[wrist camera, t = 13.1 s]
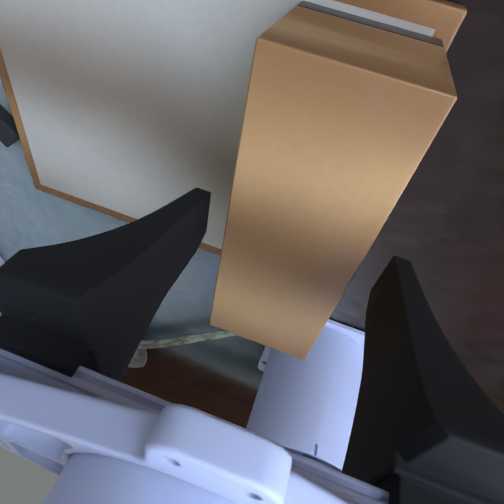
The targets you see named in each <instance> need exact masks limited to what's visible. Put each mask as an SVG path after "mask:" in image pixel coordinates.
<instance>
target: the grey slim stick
mask: <svg viewBox="0 0 504 504" xmlns="http://www.w3.org/2000/svg"><path fill="white" fill-rule="evenodd" d="M232 336H237V335H236V334H233V333H231V332H228V331H225V330H220V331H213V332H206V333H199V334H193V335H186V336H180V337H174V338H165V339H146V340H141V342H140V344H139V346H138V348H137V350H136V352H135V354H134V356H133V358H132V360H131V362H130V364H129V366H128V367H134V368H135V367H143V366H144V365H145V364H146V361H147V350H146V349H148V348H163V347H171V346H178V345H184V344H191V343H196V342H202V341H209V340H215V339H221V338H227V337H232ZM240 337H241V336H240Z"/></svg>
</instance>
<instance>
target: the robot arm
mask: <svg viewBox="0 0 504 504" xmlns="http://www.w3.org/2000/svg"><path fill="white" fill-rule="evenodd" d="M210 199H211V192H209V191H206V190H203V189H200V188H197V187H196V188H194V189H192V190H191V191H189V192H187V193H186V194H184V195H182V196H181V197H179V198H177V199H176V200H174V201H172V202H170V203H169V204H167V205H165V206H163V207H161V208H160V209H158V210H156V211H154V212H152V213H150V214H148V215H146V216H144V217H142V218H140V219H138V220H136V221H133V222H131V223H129V224H126V225H124V226H121V227H118V228H116V229H113V230H110V231H107V232H104V233H100V234H97V235H94V236H90V237H87V238H83V239H79V240H75V241H71V242H66V243H61V244H56V245H50V246H43V247H37V248H30V249H22V250H20V251H18V252H17V253H16V254H15V255H13V256H12V257H11V258H10V259H9V260H7V261H6V262H5V263H4V264H3V265H2V266H1V267H0V312H1V314H2V315H1V316H0V446H1V447H3V448H5V449H7V450H9V451H11V452H13V453H15V454H17V455H19V456H21V457H23V458H25V459H27V460H29V461H31V462H33V463H35V464H37V465H39V466H41V467H43V468H45V469H46V470H49V471H50V472H52V473H54V474H56V475H58V476H59V477H58V478H57V480H56V481H55V483H54V485H53V486H52V488H51V489H50V491H49V492H48V494H47V496H46V498H45V499H44V500H43V502H42V504H504V415H503V413H502V412H501V411H500V410H499V409H498V408H497V407H496V405H495V404H494V403H493V402H492V401H491V400H490V399H489V397H488V396H487V395H486V394H485V392H484V391H483V390H482V389H481V388H480V386H479V385H478V384H477V382H476V381H475V380H474V378H473V377H472V376H471V374H470V373H469V372H468V370H467V369H466V368H465V366H464V365H463V363H462V362H461V361H460V359H459V358H458V356H457V355H456V353H455V351H454V350H453V348H452V347H451V345H450V344H449V342H448V340H447V339H446V337H445V335H444V334H443V332H442V330H441V328H440V326H439V324H438V322H437V321H436V319H435V317H434V315H433V313H432V311H431V309H430V306H429V304H428V302H427V300H426V298H425V295H424V293H423V291H422V288H421V286H420V284H419V281H418V279H417V276H416V274H415V271H414V269H413V267H412V264H411V262H410V261H408V260H405V259H402V258H400V257H397V256H393V258H392V259H391V261H390V262H389V264H388V265H387V267H386V268H385V270H384V271H383V273H382V274H381V276H380V277H379V279H378V280H377V282H376V283H375V285H374V286H373V288H372V289H371V292H370V297H369V301H368V306H367V311H366V322H365V332H363V331H360V330H358V329H355V328H352V327H349V326H347V325H344V324H341V323H338V322H336V321H333V320H330V319H328V321H327V323H326V324H325V326H324V328H323V329H322V331H321V333H320V335H319V336H318V338H317V340H316V341H315V343H314V345H313V347H312V348H311V350H310V352H309V353H308V355H307V357H306V359H305V360H302V359H299V358H296V357H294V356H291V355H289V354H286V353H283V352H281V351H278V350H275V349H273V348H270V347H268V346H265V348H264V351H263V353H262V356H261V358H260V361H259V363H258V368H259V369H260V370H261V371H263V372H264V373H263V376H262V380H261V383H260V386H259V389H258V392H257V395H256V399H255V402H254V405H253V408H252V411H251V414H250V418H249V421H248V424H247V427H246V429H245V428H243V427H240V426H238V425H235V424H233V423H230V422H228V421H225V420H223V419H221V418H218V417H216V416H213V415H211V414H208V413H206V412H203V411H201V410H198V409H196V408H193V407H189V406H186V405H183V404H173V403H170V402H168V401H165V400H163V399H160V398H158V397H156V396H153V395H151V394H148V393H146V392H143V391H141V390H138V389H136V388H134V387H131V386H129V385H126V384H124V383H121V381H122V379H123V377H124V374H125V372H126V370H127V368H128V366H129V364H130V362H131V360H132V358H133V356H134V354H135V352H136V350H137V348H138V346H139V344H140V342H141V340H142V338H143V336H144V334H145V332H146V330H147V328H148V326H149V324H150V322H151V321H152V319H153V317H154V315H155V313H156V311H157V310H158V308H159V306H160V304H161V302H162V301H163V299H164V297H165V296H166V294H167V293H168V291H169V290H170V288H171V287H172V285H173V284H174V283H175V281H176V280H177V278H178V277H179V275H180V274H181V273H182V271H183V270H184V268H185V267H186V265H187V264H188V263H189V261H190V260H191V258H192V257H193V255H194V254H195V252H196V251H197V249H198V247H199V245H200V243H201V241H202V239H203V237H204V235H205V233H206V231H207V224H208V215H209V207H210Z"/></svg>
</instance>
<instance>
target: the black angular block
mask: <svg viewBox="0 0 504 504" xmlns="http://www.w3.org/2000/svg"><path fill="white" fill-rule="evenodd" d="M19 138H20V137H19V134H18V131H17V128H16V124H15V121H14V118H13V117H12V116H11V115H10V114H9V113H8V112H7V111H6V110H5V109H4V108H3V107H2V106H1V105H0V141H1V142H2V143H3V144H4V145H5V146H6V147H9V146H10V145H12V144H14V143H15V142H17V141H18V139H19Z"/></svg>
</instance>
